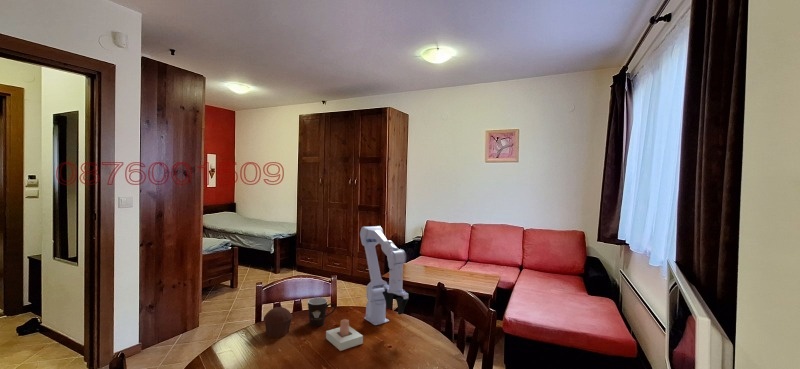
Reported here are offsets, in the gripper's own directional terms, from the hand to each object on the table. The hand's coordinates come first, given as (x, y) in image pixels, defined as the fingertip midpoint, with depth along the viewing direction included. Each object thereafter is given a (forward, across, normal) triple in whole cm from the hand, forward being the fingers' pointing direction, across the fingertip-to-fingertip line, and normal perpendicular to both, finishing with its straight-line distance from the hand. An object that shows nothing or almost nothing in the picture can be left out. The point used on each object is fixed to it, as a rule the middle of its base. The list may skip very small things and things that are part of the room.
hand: (394, 310), depth 138 cm
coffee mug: (+10, -27, -21) cm, 36 cm away
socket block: (+10, -7, -20) cm, 23 cm away
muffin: (+10, -29, -39) cm, 50 cm away
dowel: (+10, -7, -20) cm, 23 cm away
